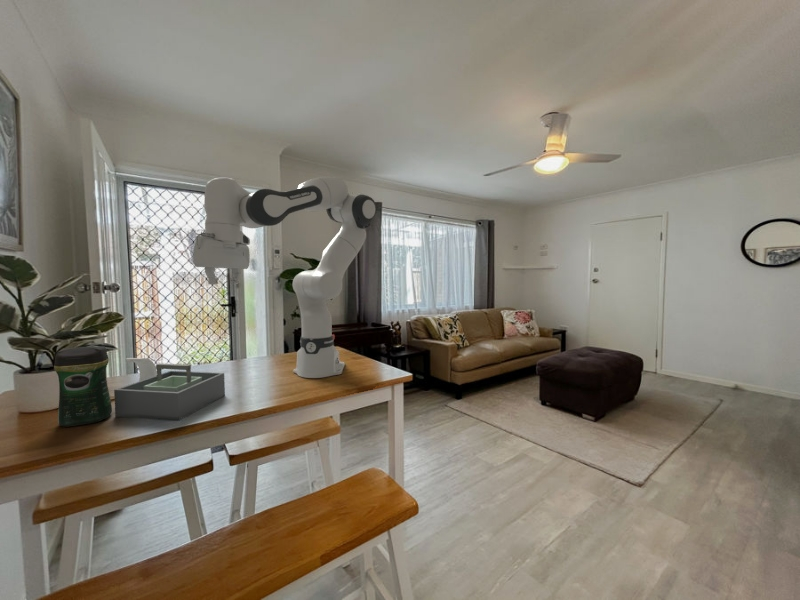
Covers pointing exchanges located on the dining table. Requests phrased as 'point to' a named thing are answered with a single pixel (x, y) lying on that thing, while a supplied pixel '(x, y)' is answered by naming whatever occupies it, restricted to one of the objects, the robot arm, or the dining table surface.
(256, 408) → the dining table surface
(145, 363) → the white curved piece
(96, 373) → the coffee jar
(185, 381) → the box
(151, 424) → the dining table surface
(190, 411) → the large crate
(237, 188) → the robot arm
